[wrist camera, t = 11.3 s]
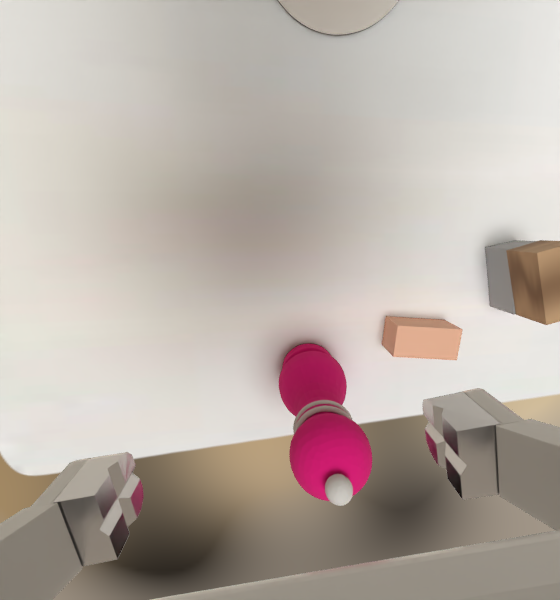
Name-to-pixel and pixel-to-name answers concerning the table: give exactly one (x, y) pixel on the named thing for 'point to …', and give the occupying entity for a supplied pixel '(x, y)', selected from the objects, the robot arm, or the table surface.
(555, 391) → the table surface
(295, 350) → the pepper mill
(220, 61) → the table surface
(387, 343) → the terracotta brick
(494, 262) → the slate-grey brick
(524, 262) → the walnut brick
